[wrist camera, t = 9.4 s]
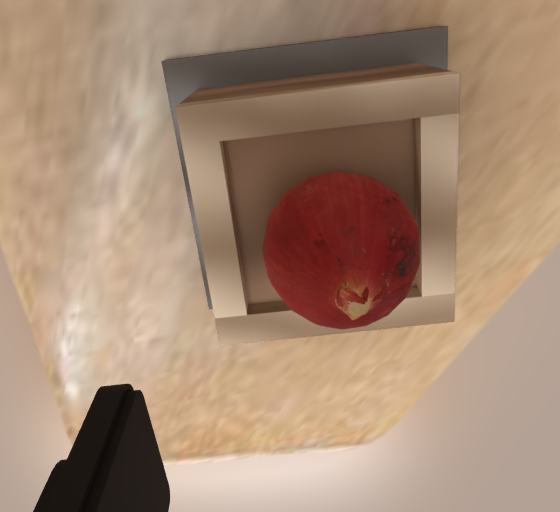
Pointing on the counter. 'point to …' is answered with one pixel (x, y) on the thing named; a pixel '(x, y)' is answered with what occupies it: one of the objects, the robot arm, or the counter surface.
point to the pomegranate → (341, 249)
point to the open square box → (316, 161)
